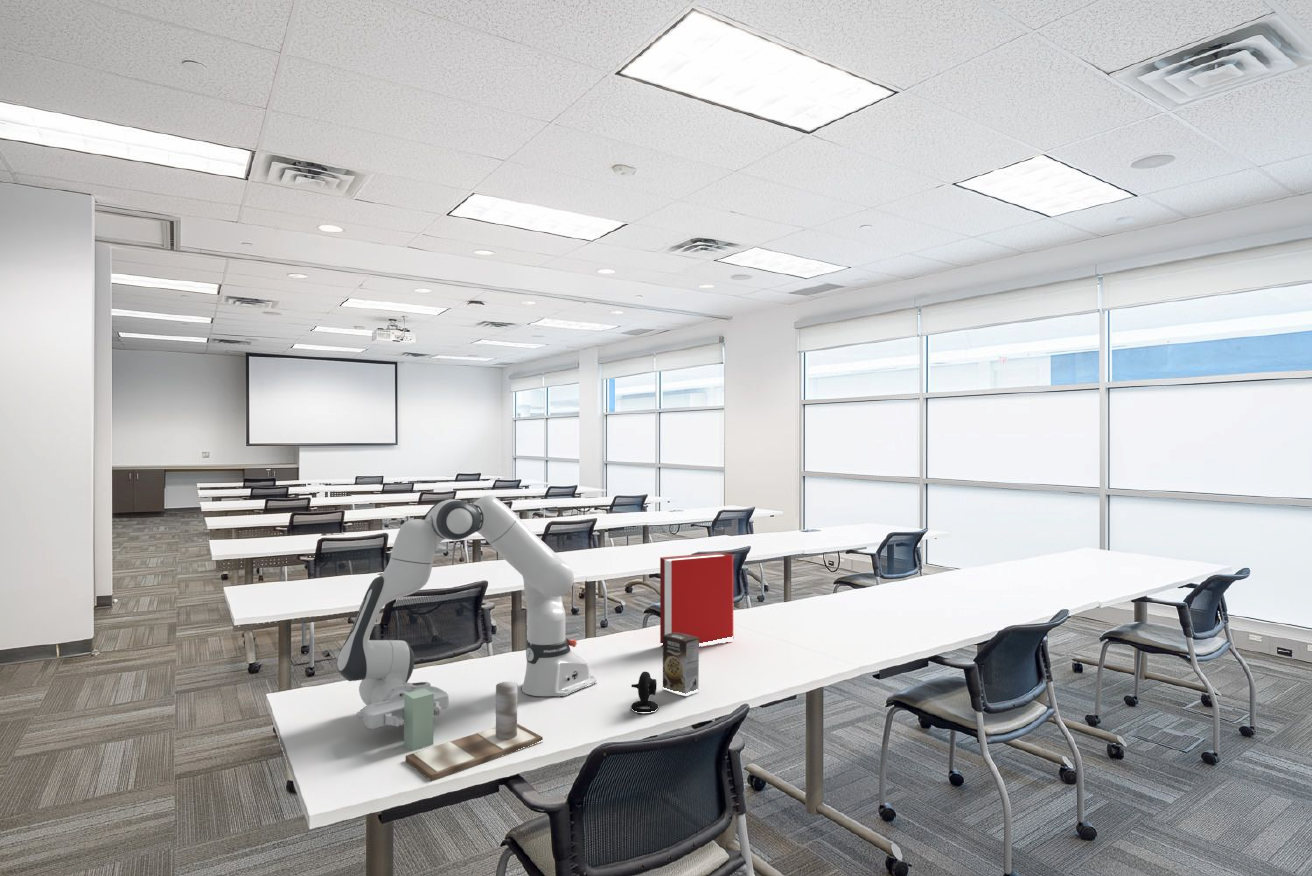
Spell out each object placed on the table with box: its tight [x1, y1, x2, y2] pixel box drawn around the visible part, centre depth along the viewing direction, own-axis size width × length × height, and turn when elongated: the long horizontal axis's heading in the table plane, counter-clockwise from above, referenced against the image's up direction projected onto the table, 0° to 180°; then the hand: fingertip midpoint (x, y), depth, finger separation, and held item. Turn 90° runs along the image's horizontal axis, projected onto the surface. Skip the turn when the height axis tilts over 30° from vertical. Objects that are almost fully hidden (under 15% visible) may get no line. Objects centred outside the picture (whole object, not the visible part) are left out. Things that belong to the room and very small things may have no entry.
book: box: [659, 552, 734, 644], centre depth 246 cm, size 27×8×32 cm, turn 119°
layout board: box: [405, 681, 544, 782], centre depth 157 cm, size 28×13×13 cm, turn 134°
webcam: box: [630, 671, 659, 712], centre depth 183 cm, size 8×8×10 cm
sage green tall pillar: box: [403, 688, 435, 752], centre depth 161 cm, size 5×5×12 cm
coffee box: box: [662, 632, 700, 694], centre depth 197 cm, size 9×6×16 cm
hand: (419, 717), depth 160 cm, fingers open, 8 cm apart
